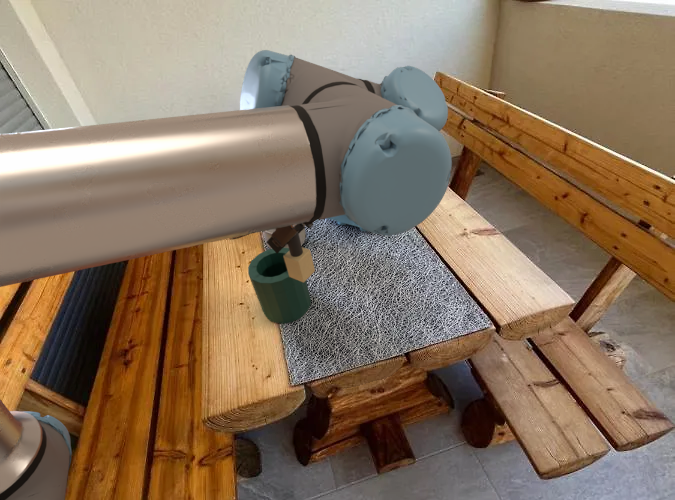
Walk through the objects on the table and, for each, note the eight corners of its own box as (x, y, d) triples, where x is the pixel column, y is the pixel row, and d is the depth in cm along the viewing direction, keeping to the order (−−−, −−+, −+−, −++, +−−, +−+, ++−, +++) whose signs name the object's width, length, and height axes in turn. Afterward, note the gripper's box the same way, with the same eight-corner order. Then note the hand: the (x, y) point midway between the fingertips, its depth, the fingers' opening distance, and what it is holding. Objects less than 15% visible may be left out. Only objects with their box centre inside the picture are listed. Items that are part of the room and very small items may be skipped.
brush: (303, 282, 68) (283, 206, 58) (289, 277, 70) (267, 202, 60) (315, 271, 70) (297, 195, 60) (300, 265, 72) (281, 191, 62)
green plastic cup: (276, 331, 80) (261, 291, 72) (255, 303, 87) (240, 263, 80) (319, 306, 84) (309, 265, 76) (296, 280, 91) (284, 240, 83)
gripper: (331, 229, 45) (264, 285, 64) (393, 169, 54) (318, 233, 73) (287, 180, 45) (232, 251, 63) (357, 128, 54) (290, 204, 72)
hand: (278, 241), depth 68 cm, fingers closed on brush, 2 cm apart
